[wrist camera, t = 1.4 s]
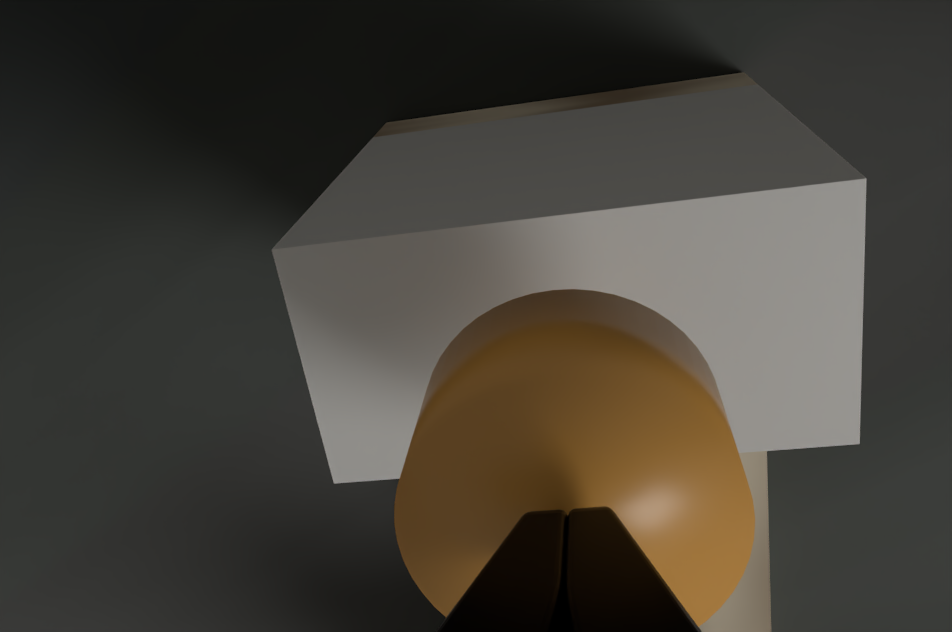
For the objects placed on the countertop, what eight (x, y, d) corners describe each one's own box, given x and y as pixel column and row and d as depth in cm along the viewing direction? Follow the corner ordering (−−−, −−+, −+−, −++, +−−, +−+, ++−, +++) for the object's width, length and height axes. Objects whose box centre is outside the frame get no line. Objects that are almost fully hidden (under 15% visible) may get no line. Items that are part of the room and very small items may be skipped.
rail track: (743, 72, 19) (773, 97, 16) (764, 731, 27) (786, 823, 24) (386, 122, 20) (357, 154, 17) (508, 738, 28) (501, 826, 25)
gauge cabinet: (757, 84, 17) (866, 178, 11) (762, 293, 19) (858, 478, 13) (373, 137, 19) (270, 249, 12) (412, 329, 20) (342, 514, 14)
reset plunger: (715, 272, 10) (749, 355, 8) (728, 535, 11) (759, 657, 9) (398, 306, 10) (360, 391, 8) (449, 552, 11) (427, 669, 10)
